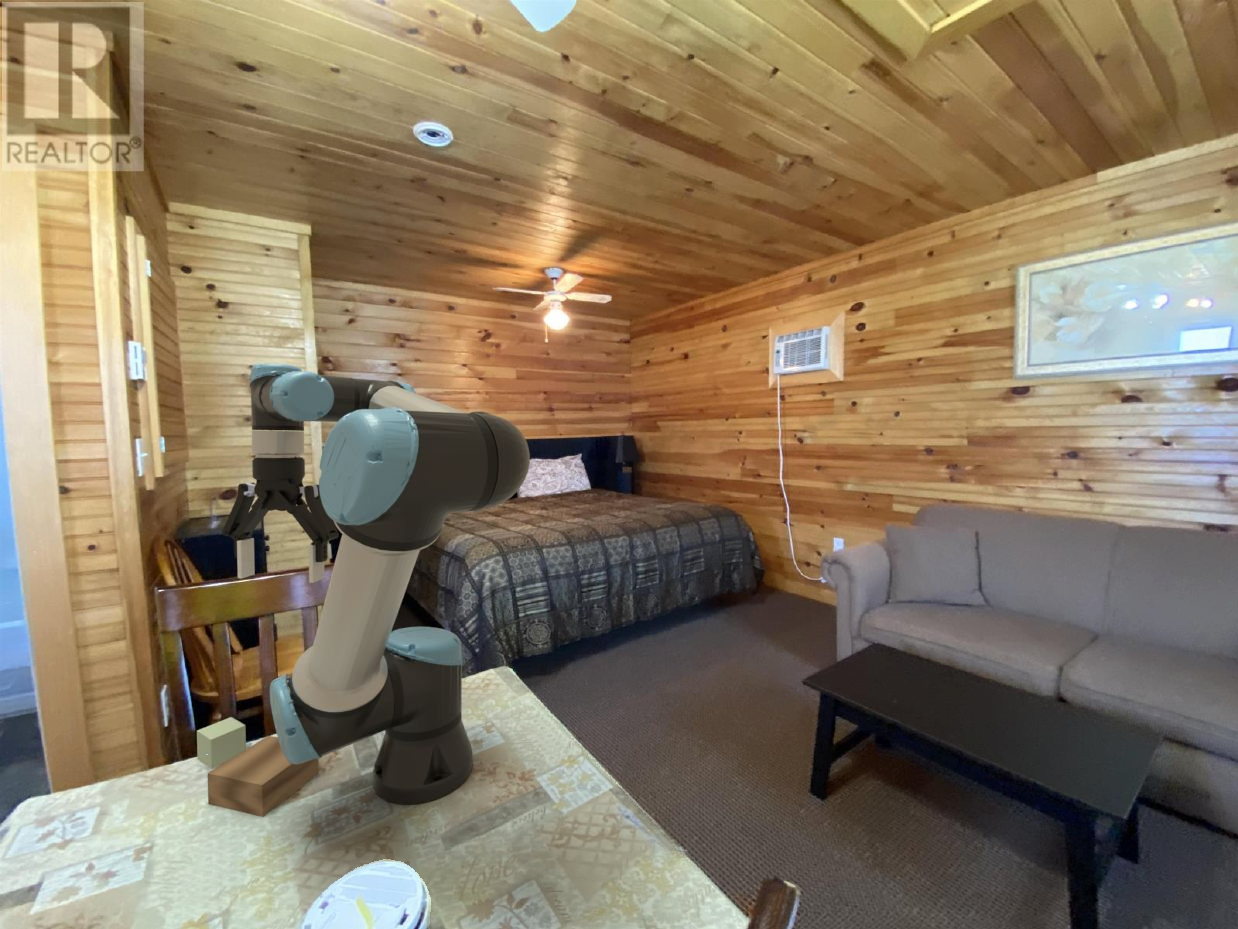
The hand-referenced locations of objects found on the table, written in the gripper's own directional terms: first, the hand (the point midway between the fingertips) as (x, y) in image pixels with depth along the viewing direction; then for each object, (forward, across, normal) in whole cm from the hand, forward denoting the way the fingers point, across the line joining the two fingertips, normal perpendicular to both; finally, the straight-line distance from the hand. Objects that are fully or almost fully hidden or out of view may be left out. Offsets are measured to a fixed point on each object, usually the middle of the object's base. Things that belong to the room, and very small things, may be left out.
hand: (281, 578), depth 90 cm
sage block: (+30, +8, +4) cm, 31 cm away
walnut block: (+30, -6, +10) cm, 32 cm away
